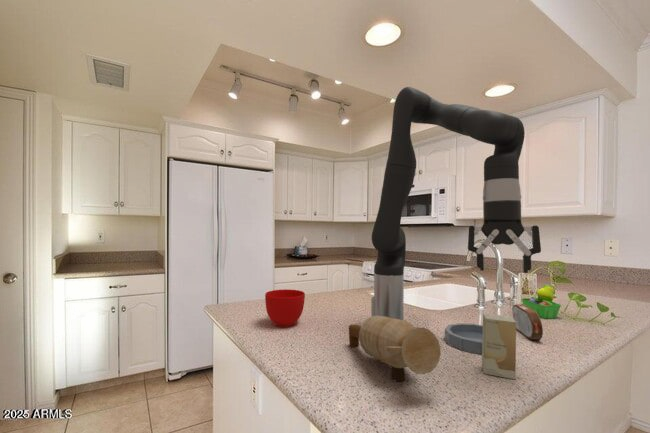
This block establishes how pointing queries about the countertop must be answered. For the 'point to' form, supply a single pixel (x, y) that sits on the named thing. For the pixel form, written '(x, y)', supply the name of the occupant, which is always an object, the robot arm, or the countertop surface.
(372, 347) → the wooden log toy
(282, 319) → the ceramic cup
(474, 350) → the round dish
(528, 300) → the fruit basket
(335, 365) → the countertop surface
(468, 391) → the countertop surface
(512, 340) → the skincare box
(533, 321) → the tin
